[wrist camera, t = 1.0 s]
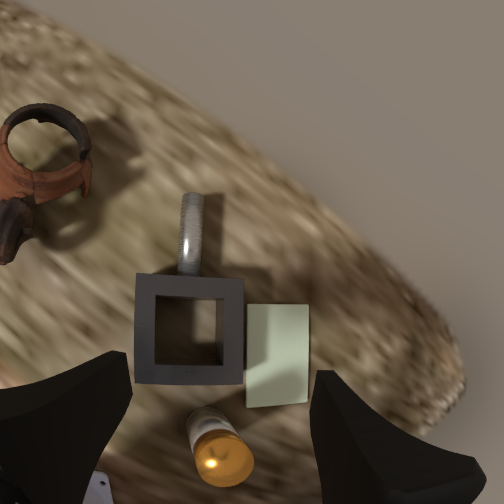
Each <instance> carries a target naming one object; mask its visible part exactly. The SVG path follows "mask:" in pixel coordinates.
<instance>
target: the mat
mask: <svg viewBox="0 0 504 504" xmlns="http://www.w3.org/2000/svg"><path fill="white" fill-rule="evenodd" d="M308 351H309V305H298V304H246V407H247V408H252V407H264V406H275V405H285V404H294V403H302V402H307V396H308Z"/></svg>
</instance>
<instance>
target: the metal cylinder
mask: <svg viewBox="0 0 504 504" xmlns="http://www.w3.org/2000/svg"><path fill="white" fill-rule="evenodd" d="M186 431H187V435H188V438H189V442H190V446H191V449H192V453H193V456H194V460H195V463H196V466H197V470H198V473H199V475H200V476H201V478H202V479H203V480H204V481H206V482H207V483H209V484H211V485H214V486H218V487H230V486H234V485H237V484H239V483H241V482H242V481H244V480H245V479H246V478H247V477H248V476H249V475H250V474H251V472H252V470H253V467H254V457H253V454H252V452H251V451H250V450H249V448H248V447H247V446H246V444H245V443H244V442H243V440H242V439H241V438H240V436H239V435H238V433H237V432H236V431H235V429H234V428H233V427H232V425H231V424H230V422H229V421H228V420H227V418H226V417H225V415H224V414H223V413H222V412H221V411H219V410H218V409H216V408H213V407H201V408H198V409H196V410H194V411H193V412H192V413H191V414H190V415H189V416H188V418H187V420H186Z"/></svg>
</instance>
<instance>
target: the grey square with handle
mask: <svg viewBox="0 0 504 504" xmlns="http://www.w3.org/2000/svg"><path fill="white" fill-rule="evenodd" d="M203 207H204V196H203V195H202V194H199V193H193V192H191V193H185V194H183V195H182V206H181V219H180V233H179V249H178V268H177V276H175V275H159V274H144V273H136V288H135V314H134V377H135V383H140V384H160V385H237V384H243V319H244V279H231V278H211V277H200V273H201V247H202V226H203ZM156 298H171V299H191V300H215V301H216V360H195V359H161V358H155V329H156Z"/></svg>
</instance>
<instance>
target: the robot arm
mask: <svg viewBox="0 0 504 504" xmlns="http://www.w3.org/2000/svg"><path fill="white" fill-rule="evenodd" d="M132 395H133V392H132V387H131V381H130V375H129V369H128V363H127V356H126V353H124V352H118V351H113V350H112V351H110V352H107V353H105V354H102V355H100V356H98V357H96V358H94V359H92V360H89V361H87V362H85V363H83V364H81V365H79V366H77V367H75V368H72V369H70V370H68V371H65V372H63V373H60V374H58V375H56V376H53V377H50V378H48V379H45V380H42V381H38V382H35V383H31V384H27V385H23V386H17V387H12V388H6V389H0V504H114V503H113V498H112V493H111V488H110V483H109V477H108V475H107V474H106V473H104V472H99V471H94V469H95V467H96V465H97V462H98V460H99V458H100V456H101V454H102V452H103V450H104V449H105V447H106V445H107V444H108V442H109V440H110V439H111V437H112V435H113V434H114V432H115V430H116V429H117V427H118V425H119V423H120V422H121V420H122V418H123V417H124V415H125V413H126V410H127V408H128V406H129V403H130V400H131V398H132ZM309 414H310V429H311V437H312V442H313V447H314V452H315V457H316V461H317V466H318V471H319V476H320V481H321V488H322V502H323V504H471V503H472V502H473V501H474V500H475V499H476V498H477V496H478V495H479V494H480V493H481V491H482V490H483V488H484V486H485V483H486V476H485V474H484V472H483V471H482V469H481V467H480V466H479V464H478V463H477V461H476V460H475V458H474V457H470V456H466V455H462V454H458V453H454V452H450V451H447V450H444V449H441V448H438V447H436V446H433V445H431V444H428V443H426V442H424V441H422V440H420V439H418V438H416V437H414V436H412V435H410V434H408V433H406V432H404V431H403V430H401V429H399V428H398V427H396V426H395V425H393V424H392V423H390V422H389V421H387V420H386V419H384V418H383V417H382V416H380V415H379V414H378V413H377V412H375V411H374V410H373V409H372V408H371V407H369V406H368V405H367V404H366V403H365V402H364V401H363V400H362V399H361V398H360V397H359V396H358V395H357V394H356V393H355V392H354V391H353V390H352V389H351V388H350V387H349V386H348V385H347V384H346V383H345V382H344V381H343V380H342V379H341V378H340V377H339V376H338V375H337V374H336V372H335V371H334V370H317V374H316V379H315V385H314V390H313V396H312V401H311V406H310V411H309ZM100 481H104V482H105V483H106V484H102V483H101V482H100Z"/></svg>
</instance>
